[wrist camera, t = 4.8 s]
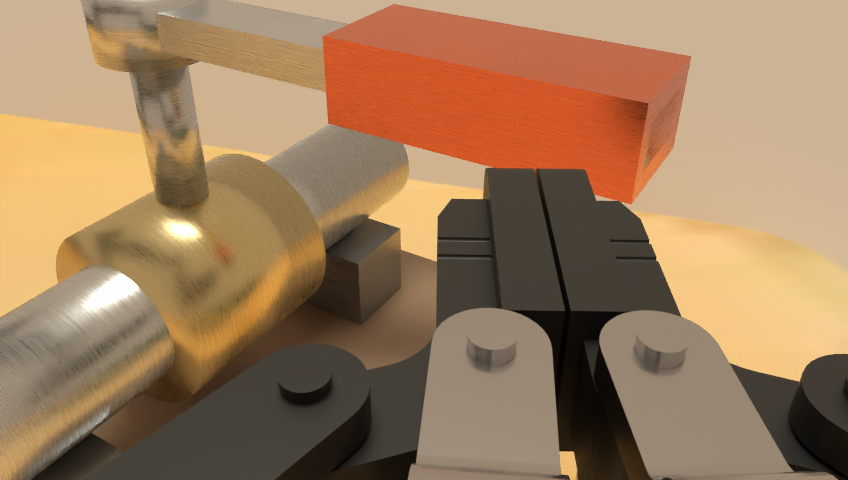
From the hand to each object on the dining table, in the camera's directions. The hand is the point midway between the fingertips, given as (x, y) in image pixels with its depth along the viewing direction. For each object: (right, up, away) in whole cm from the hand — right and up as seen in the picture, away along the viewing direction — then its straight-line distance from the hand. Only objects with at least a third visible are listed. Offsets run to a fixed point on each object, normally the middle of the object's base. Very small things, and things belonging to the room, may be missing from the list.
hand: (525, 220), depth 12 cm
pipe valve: (-9, -6, +16) cm, 19 cm away
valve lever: (-4, +3, +7) cm, 8 cm away
